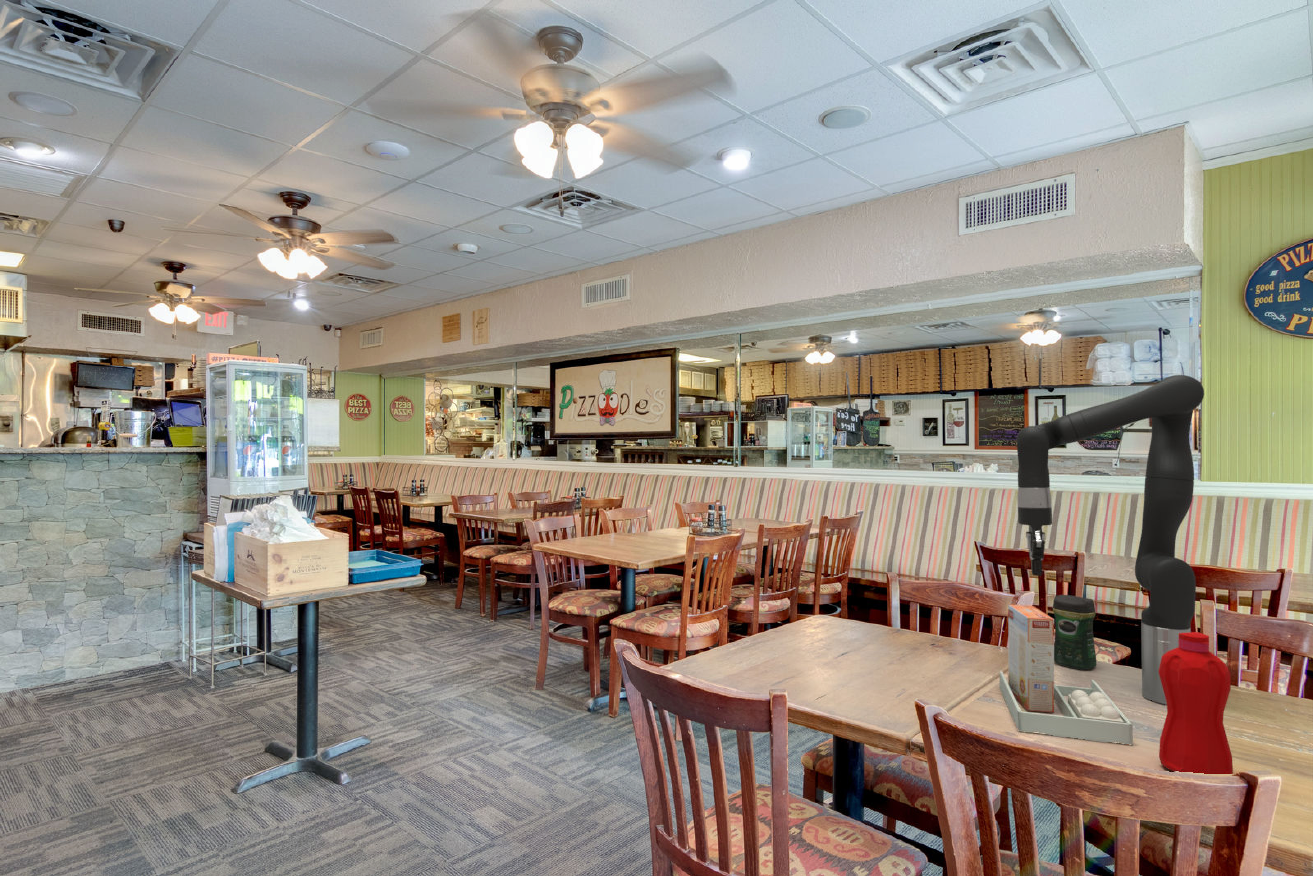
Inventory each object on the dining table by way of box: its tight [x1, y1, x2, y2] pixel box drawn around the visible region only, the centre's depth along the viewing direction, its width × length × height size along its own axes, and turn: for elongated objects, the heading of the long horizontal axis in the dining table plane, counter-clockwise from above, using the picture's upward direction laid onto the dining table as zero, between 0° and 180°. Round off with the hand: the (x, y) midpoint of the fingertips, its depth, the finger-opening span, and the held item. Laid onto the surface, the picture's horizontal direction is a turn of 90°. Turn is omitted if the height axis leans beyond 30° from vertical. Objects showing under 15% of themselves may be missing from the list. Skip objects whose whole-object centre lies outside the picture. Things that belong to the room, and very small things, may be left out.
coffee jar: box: [1052, 594, 1097, 671], centre depth 186 cm, size 10×8×19 cm
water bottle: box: [1158, 631, 1234, 774], centre depth 125 cm, size 9×11×25 cm
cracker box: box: [1007, 604, 1055, 714], centre depth 159 cm, size 14×6×21 cm, turn 168°
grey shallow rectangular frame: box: [998, 670, 1134, 746], centre depth 152 cm, size 20×28×4 cm
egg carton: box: [1067, 690, 1124, 723], centre depth 144 cm, size 7×14×6 cm, turn 160°
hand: (1036, 575), depth 173 cm, fingers closed
